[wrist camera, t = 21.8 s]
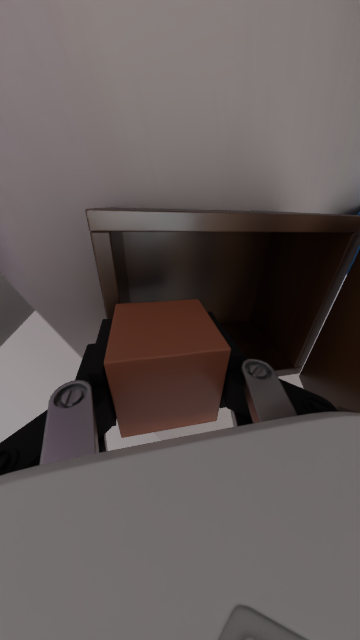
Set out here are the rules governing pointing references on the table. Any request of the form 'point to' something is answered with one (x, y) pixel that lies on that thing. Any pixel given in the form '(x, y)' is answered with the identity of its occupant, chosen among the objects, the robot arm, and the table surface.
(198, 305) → the block
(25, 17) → the table surface
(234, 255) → the chest
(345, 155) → the table surface
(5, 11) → the table surface
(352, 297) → the lid
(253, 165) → the table surface
